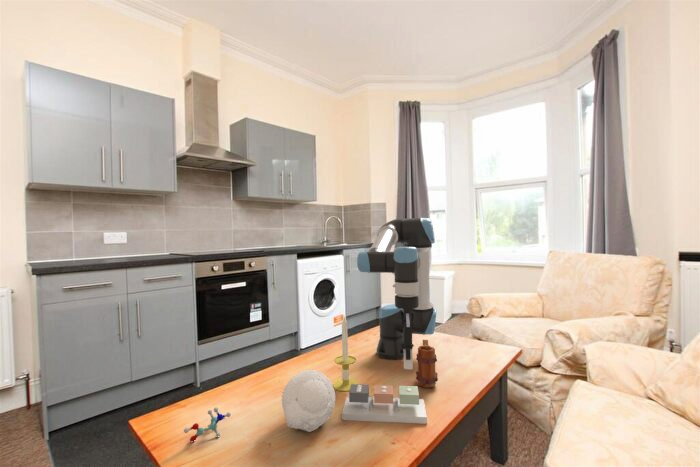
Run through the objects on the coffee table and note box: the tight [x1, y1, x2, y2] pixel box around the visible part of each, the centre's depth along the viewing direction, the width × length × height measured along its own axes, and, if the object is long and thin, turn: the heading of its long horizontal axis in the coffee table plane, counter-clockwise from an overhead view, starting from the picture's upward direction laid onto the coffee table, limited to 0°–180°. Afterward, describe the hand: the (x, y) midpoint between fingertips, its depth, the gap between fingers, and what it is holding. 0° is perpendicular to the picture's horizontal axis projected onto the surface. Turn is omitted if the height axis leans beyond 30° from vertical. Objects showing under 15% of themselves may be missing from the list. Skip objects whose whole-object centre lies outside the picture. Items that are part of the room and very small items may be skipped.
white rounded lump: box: [281, 369, 336, 433], centre depth 101 cm, size 20×18×16 cm
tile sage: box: [398, 385, 420, 405], centre depth 106 cm, size 6×6×3 cm
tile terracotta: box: [373, 384, 394, 404], centre depth 107 cm, size 6×6×3 cm
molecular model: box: [183, 407, 232, 442], centre depth 96 cm, size 12×10×10 cm
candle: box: [332, 316, 359, 392], centre depth 127 cm, size 10×10×27 cm
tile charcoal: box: [348, 383, 370, 403], centre depth 108 cm, size 6×6×3 cm
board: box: [341, 395, 428, 425], centre depth 107 cm, size 11×26×3 cm, turn 83°
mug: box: [415, 339, 439, 389], centre depth 128 cm, size 15×8×15 cm, turn 168°
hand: (408, 368), depth 106 cm, fingers closed
